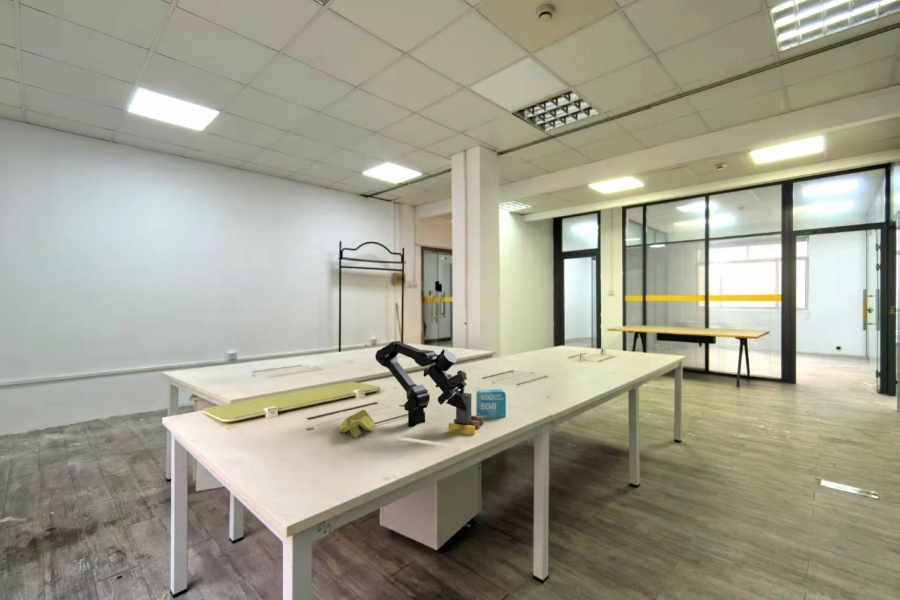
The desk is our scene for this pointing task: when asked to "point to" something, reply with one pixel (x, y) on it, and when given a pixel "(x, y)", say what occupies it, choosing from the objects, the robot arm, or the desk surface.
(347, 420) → the plastic component
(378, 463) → the desk surface
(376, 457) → the desk surface
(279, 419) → the desk surface
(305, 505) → the desk surface
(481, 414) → the data package
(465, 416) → the block
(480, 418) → the rack
